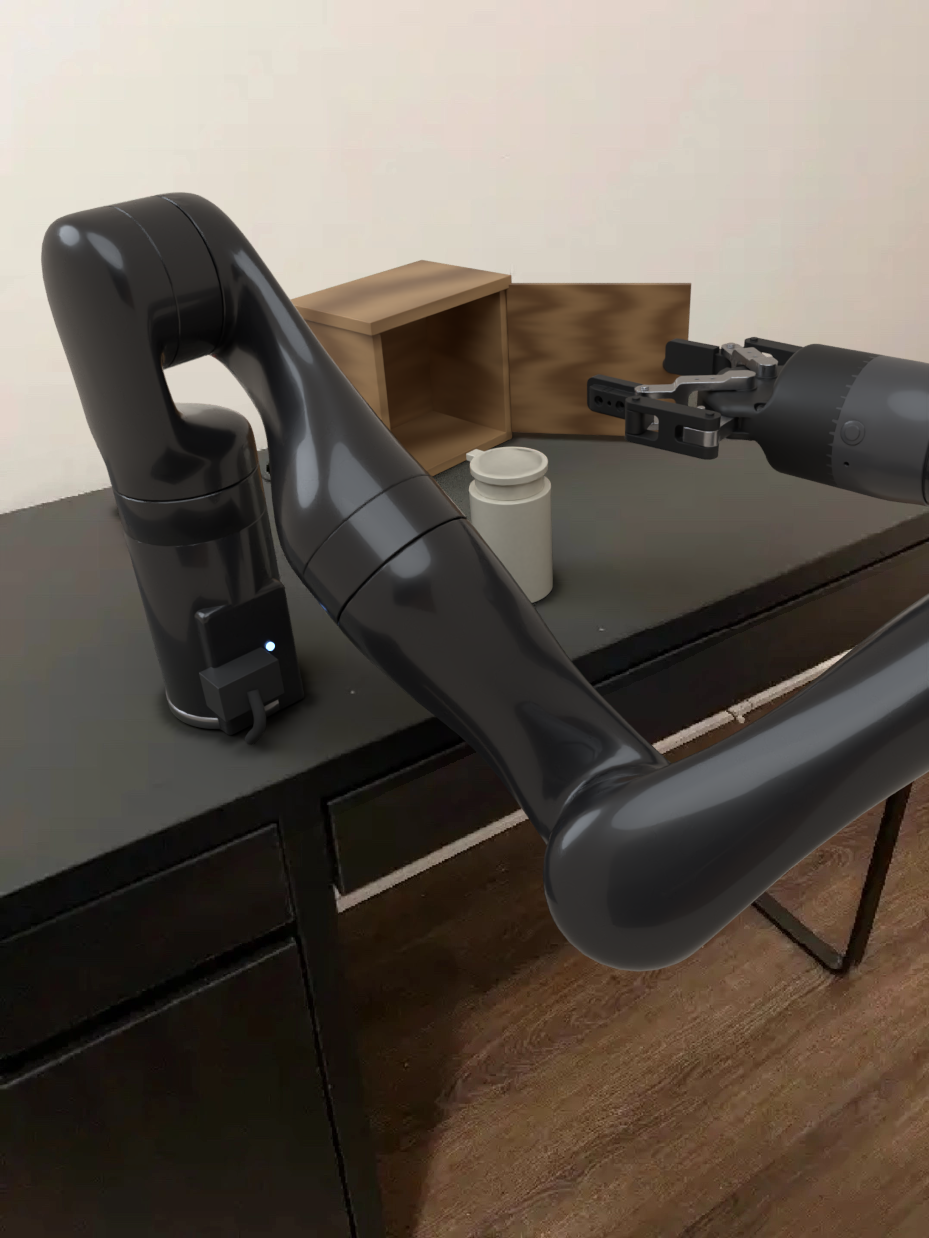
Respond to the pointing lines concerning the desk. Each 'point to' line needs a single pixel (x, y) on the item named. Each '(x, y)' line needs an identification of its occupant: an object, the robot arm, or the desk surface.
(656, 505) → the desk surface
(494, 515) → the white jar
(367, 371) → the cabinet
